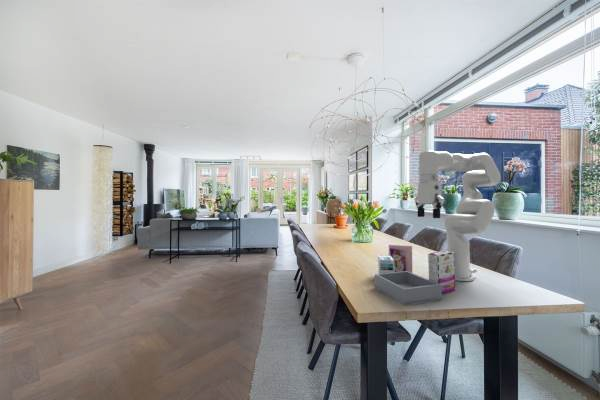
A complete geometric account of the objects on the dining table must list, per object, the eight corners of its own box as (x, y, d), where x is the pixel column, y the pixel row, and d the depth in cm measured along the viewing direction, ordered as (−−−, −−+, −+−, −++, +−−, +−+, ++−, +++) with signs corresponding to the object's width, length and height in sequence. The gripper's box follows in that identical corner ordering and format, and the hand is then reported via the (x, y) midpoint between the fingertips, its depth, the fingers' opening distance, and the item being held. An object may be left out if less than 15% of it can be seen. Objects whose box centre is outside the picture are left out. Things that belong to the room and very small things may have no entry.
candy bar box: (444, 286, 114) (444, 250, 114) (455, 290, 110) (455, 252, 110) (428, 291, 109) (427, 252, 109) (439, 295, 105) (438, 255, 105)
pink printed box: (387, 273, 136) (387, 245, 136) (396, 270, 140) (396, 243, 140) (407, 278, 126) (406, 248, 126) (416, 276, 130) (415, 246, 130)
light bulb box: (395, 283, 120) (394, 260, 120) (380, 282, 122) (380, 259, 122) (391, 276, 131) (391, 255, 131) (378, 275, 132) (377, 254, 132)
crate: (407, 283, 119) (406, 270, 119) (441, 300, 100) (441, 284, 100) (374, 287, 114) (374, 274, 114) (404, 305, 95) (404, 289, 95)
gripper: (450, 177, 107) (451, 218, 107) (422, 180, 124) (422, 216, 123) (435, 177, 105) (435, 218, 105) (408, 180, 122) (408, 216, 122)
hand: (428, 217), depth 114 cm, fingers open, 9 cm apart
